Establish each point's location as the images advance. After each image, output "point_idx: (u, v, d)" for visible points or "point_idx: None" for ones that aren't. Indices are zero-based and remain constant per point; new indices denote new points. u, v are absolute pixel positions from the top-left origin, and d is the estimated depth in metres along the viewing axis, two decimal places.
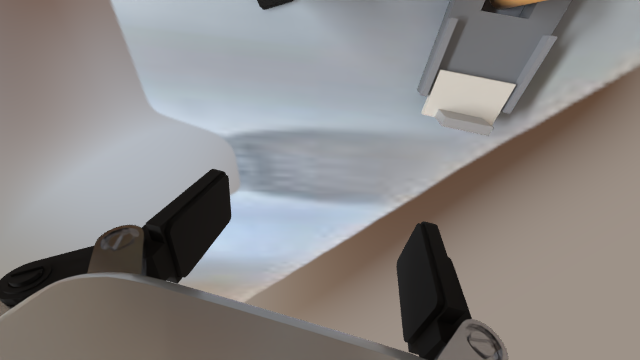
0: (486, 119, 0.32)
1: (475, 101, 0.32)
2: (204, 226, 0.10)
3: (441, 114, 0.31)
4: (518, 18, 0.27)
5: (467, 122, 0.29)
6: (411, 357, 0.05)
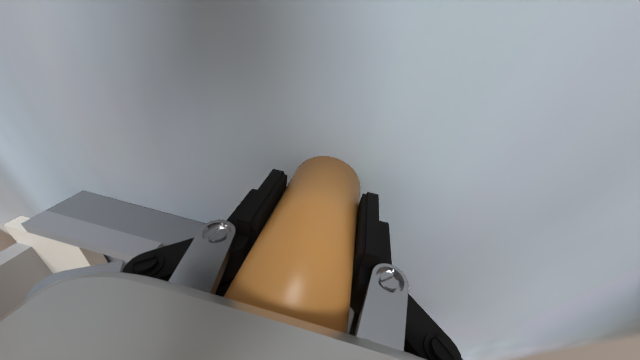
0: None
1: None
2: None
3: None
4: None
5: None
6: (411, 357, 0.05)
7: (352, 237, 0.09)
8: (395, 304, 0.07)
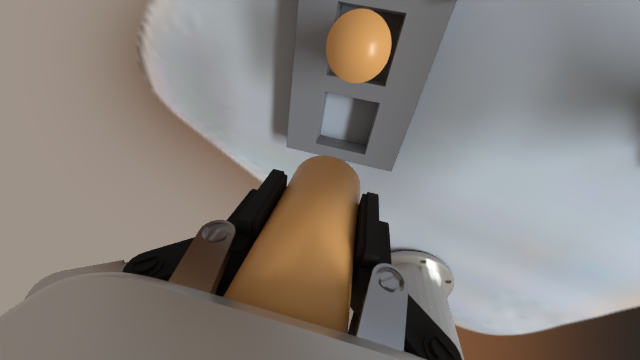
0: None
1: None
2: None
3: None
4: (351, 1, 0.18)
5: None
6: (411, 357, 0.05)
7: (352, 236, 0.09)
8: (395, 304, 0.07)
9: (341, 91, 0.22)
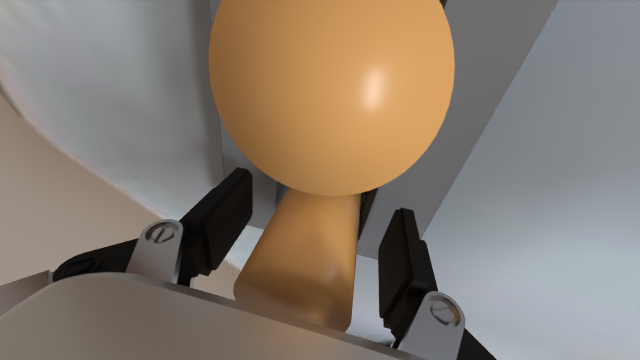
0: None
1: None
2: (232, 222, 0.10)
3: None
4: None
5: None
6: (411, 357, 0.05)
7: (357, 211, 0.11)
8: (455, 341, 0.06)
9: None
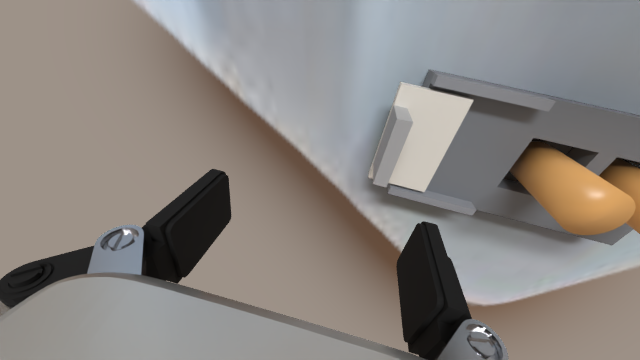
0: None
1: (411, 155, 0.22)
2: (204, 226, 0.10)
3: (407, 114, 0.19)
4: (502, 177, 0.23)
5: (398, 155, 0.19)
6: (411, 357, 0.05)
7: None
8: None
9: None
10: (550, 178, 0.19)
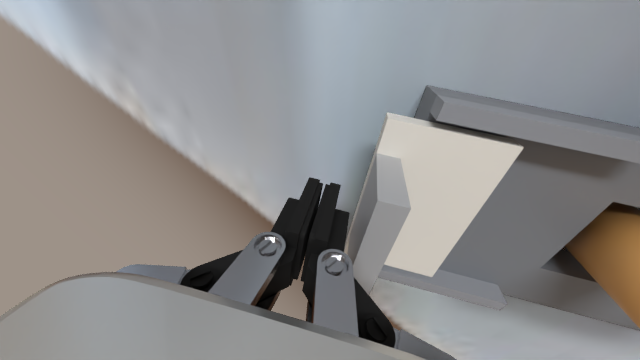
0: None
1: (409, 228, 0.14)
2: (309, 232, 0.11)
3: (400, 179, 0.10)
4: (550, 256, 0.14)
5: (383, 257, 0.10)
6: (411, 357, 0.05)
7: None
8: (334, 286, 0.07)
9: None
10: None
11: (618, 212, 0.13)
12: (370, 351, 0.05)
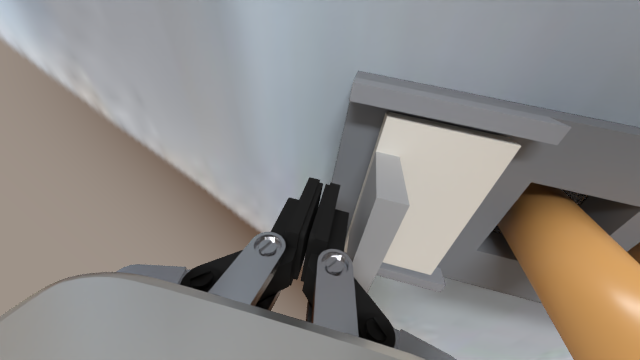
0: None
1: (408, 225, 0.14)
2: (309, 231, 0.11)
3: (399, 177, 0.10)
4: (483, 238, 0.15)
5: (382, 254, 0.10)
6: (411, 357, 0.05)
7: None
8: (334, 286, 0.07)
9: None
10: (556, 279, 0.10)
11: (542, 199, 0.13)
12: (370, 351, 0.05)
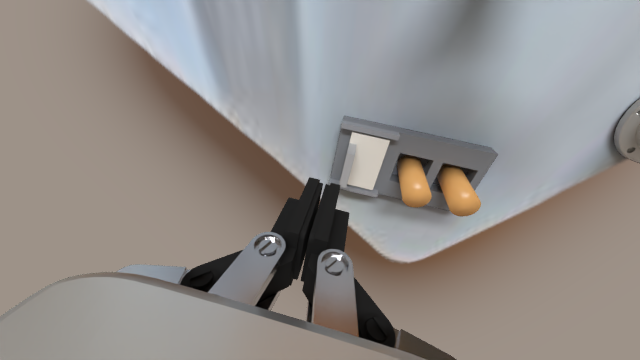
0: None
1: (362, 169, 0.39)
2: (309, 231, 0.11)
3: (354, 149, 0.35)
4: (390, 175, 0.40)
5: (350, 171, 0.35)
6: (411, 357, 0.05)
7: (453, 177, 0.36)
8: (334, 286, 0.07)
9: (431, 181, 0.39)
10: (400, 183, 0.36)
11: (405, 160, 0.39)
12: (370, 351, 0.05)
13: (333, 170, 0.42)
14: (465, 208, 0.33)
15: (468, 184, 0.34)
